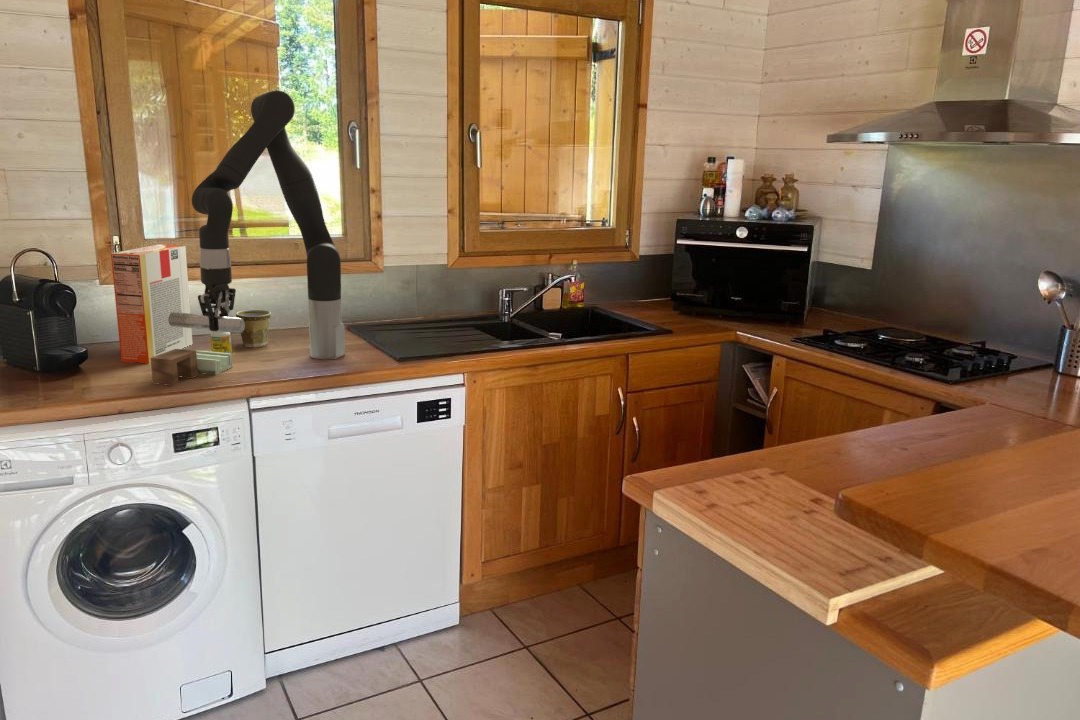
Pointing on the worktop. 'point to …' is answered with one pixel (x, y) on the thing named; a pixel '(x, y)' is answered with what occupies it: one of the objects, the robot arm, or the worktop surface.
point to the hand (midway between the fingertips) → (219, 328)
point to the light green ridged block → (213, 362)
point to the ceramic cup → (255, 327)
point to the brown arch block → (173, 366)
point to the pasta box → (150, 300)
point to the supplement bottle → (221, 342)
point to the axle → (205, 322)
